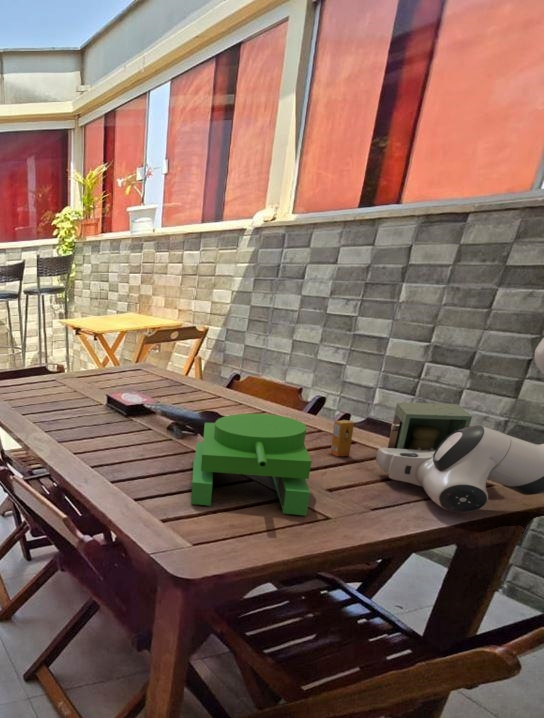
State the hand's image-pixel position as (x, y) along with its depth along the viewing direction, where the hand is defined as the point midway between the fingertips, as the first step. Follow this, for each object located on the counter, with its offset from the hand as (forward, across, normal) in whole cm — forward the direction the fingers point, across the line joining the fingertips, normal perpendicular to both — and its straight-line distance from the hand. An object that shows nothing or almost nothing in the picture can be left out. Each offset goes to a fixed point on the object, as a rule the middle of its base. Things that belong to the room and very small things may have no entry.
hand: (423, 450), depth 125 cm
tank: (-25, +39, +6) cm, 47 cm away
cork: (+2, 0, +6) cm, 6 cm away
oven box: (+2, 0, +5) cm, 6 cm away
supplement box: (+7, +16, +6) cm, 18 cm away
